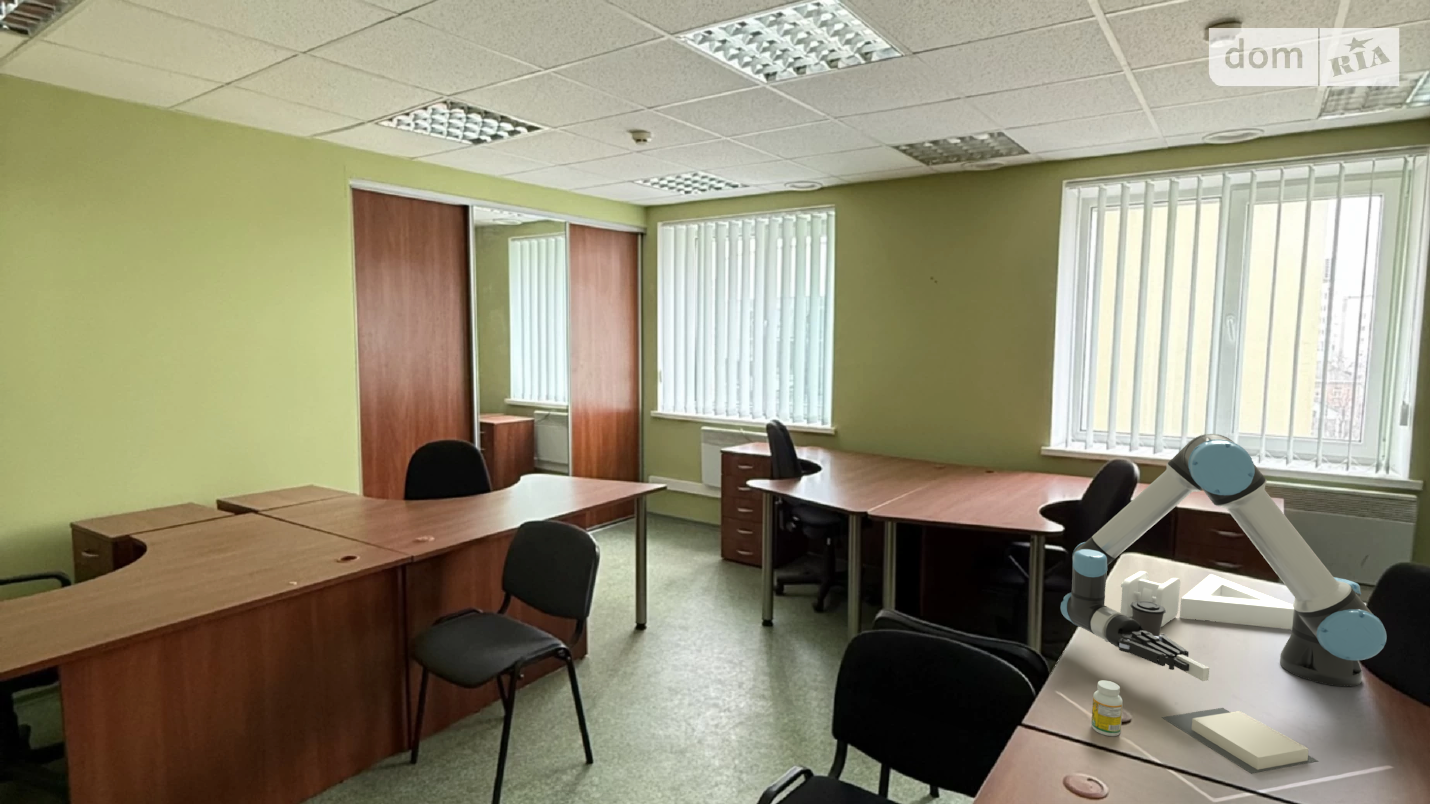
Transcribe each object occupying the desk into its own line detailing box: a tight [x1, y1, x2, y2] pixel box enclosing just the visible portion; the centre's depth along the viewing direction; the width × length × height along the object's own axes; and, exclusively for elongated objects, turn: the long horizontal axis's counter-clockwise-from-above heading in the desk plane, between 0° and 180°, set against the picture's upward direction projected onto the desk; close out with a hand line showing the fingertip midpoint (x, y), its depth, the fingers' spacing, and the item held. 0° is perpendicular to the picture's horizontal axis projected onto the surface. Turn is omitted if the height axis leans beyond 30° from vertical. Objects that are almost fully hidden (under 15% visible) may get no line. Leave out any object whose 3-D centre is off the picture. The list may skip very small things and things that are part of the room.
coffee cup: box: [1130, 601, 1166, 636], centre depth 193 cm, size 8×8×10 cm
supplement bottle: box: [1091, 679, 1124, 737], centre depth 151 cm, size 5×5×10 cm
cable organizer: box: [1120, 570, 1181, 628], centre depth 208 cm, size 15×11×12 cm
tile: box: [1192, 710, 1309, 770], centre depth 145 cm, size 2×12×14 cm
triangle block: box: [1179, 573, 1294, 630], centre depth 216 cm, size 30×26×6 cm
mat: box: [1161, 707, 1319, 775], centre depth 147 cm, size 20×16×1 cm
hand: (1205, 674), depth 154 cm, fingers closed
